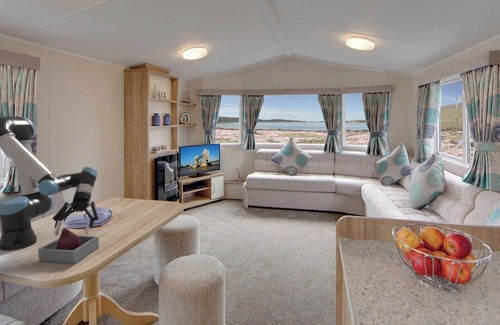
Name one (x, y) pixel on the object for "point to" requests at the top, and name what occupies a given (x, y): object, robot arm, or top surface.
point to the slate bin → (68, 251)
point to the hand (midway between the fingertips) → (71, 234)
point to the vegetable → (68, 240)
